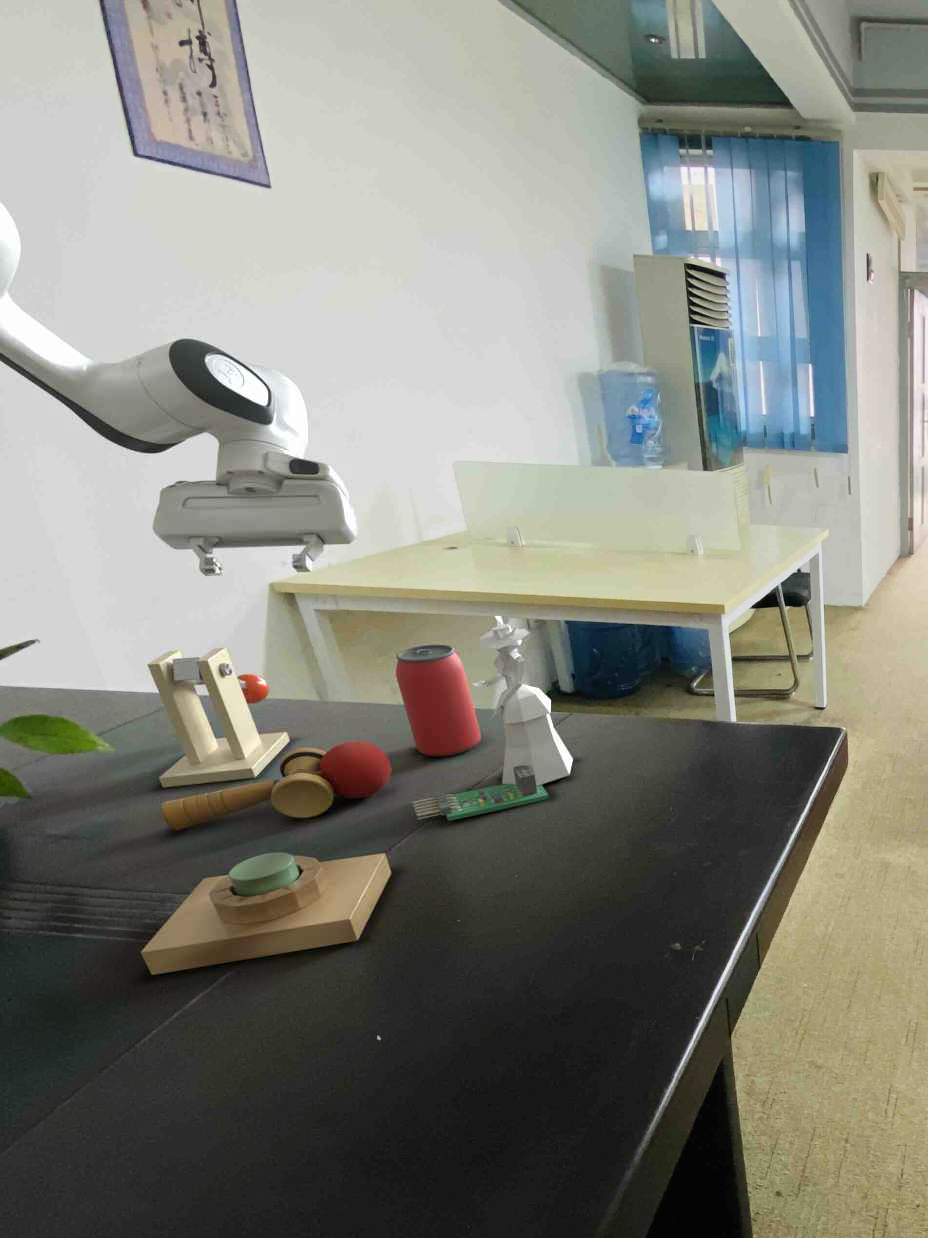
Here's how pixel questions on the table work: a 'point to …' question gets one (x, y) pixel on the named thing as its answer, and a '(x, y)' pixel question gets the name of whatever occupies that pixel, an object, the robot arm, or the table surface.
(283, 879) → the button
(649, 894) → the table surface
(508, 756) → the figurine
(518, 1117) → the table surface
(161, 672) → the bracket
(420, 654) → the beer can
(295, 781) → the kendama
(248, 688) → the lever
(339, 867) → the button block
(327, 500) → the robot arm
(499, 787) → the circuit board
